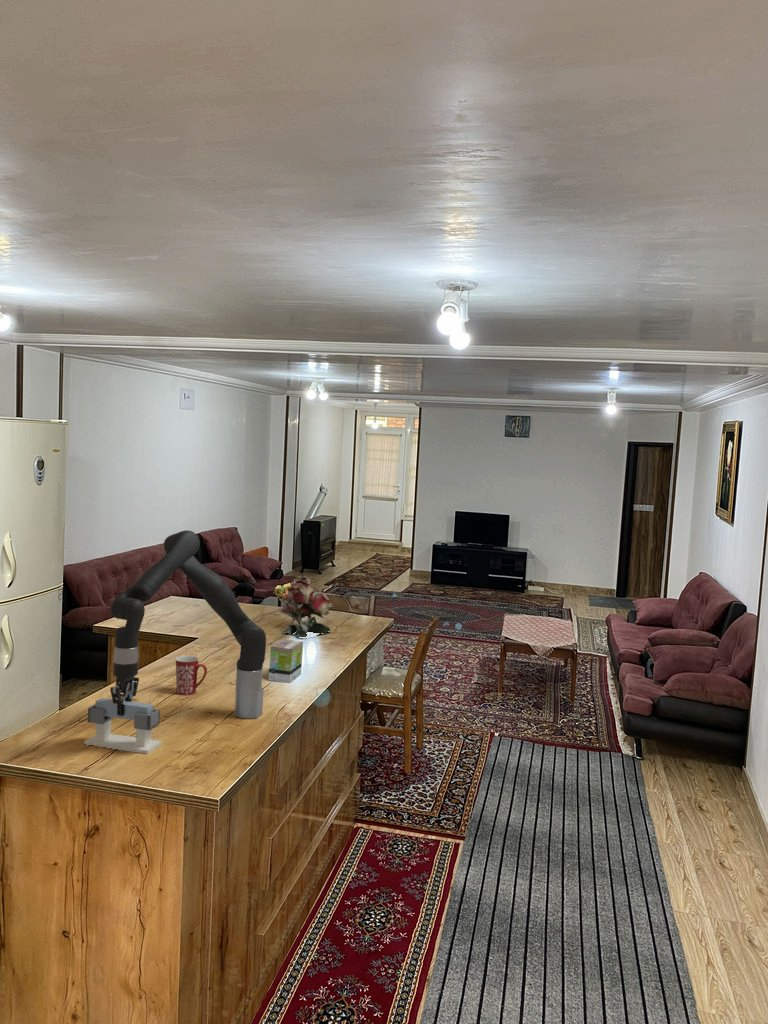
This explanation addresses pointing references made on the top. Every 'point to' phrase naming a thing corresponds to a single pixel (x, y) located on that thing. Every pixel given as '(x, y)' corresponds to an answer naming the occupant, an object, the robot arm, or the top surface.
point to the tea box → (285, 660)
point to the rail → (129, 708)
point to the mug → (188, 674)
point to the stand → (126, 743)
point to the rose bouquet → (305, 607)
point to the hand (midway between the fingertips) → (124, 713)
